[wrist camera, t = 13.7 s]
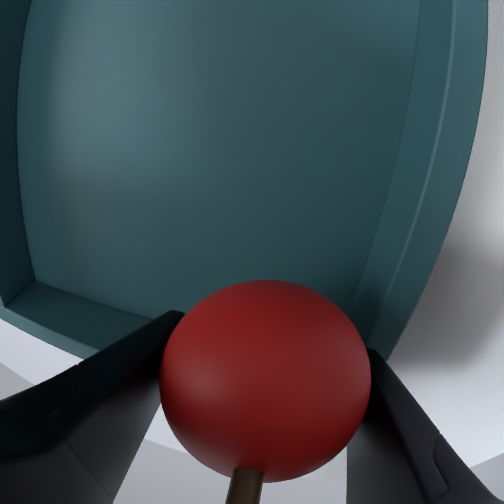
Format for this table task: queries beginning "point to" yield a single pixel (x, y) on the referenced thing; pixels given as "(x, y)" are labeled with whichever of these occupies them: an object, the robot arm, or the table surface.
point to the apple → (264, 383)
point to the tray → (229, 155)
